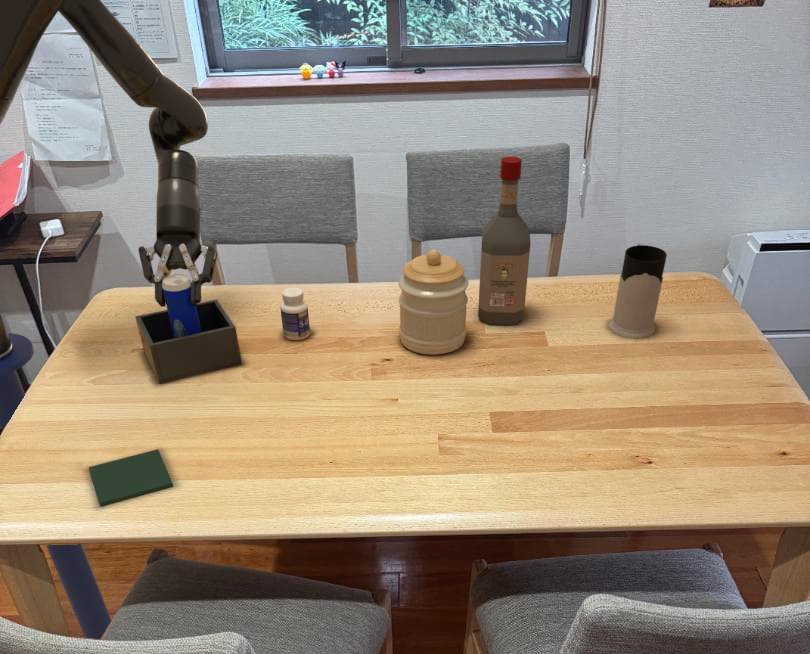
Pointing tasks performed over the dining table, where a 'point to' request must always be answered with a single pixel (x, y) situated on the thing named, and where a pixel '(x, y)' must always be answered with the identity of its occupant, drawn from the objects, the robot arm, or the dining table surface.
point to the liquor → (505, 255)
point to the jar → (433, 304)
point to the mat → (130, 477)
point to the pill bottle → (294, 314)
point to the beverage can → (180, 306)
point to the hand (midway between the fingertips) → (178, 304)
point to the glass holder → (638, 291)
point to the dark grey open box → (189, 343)
